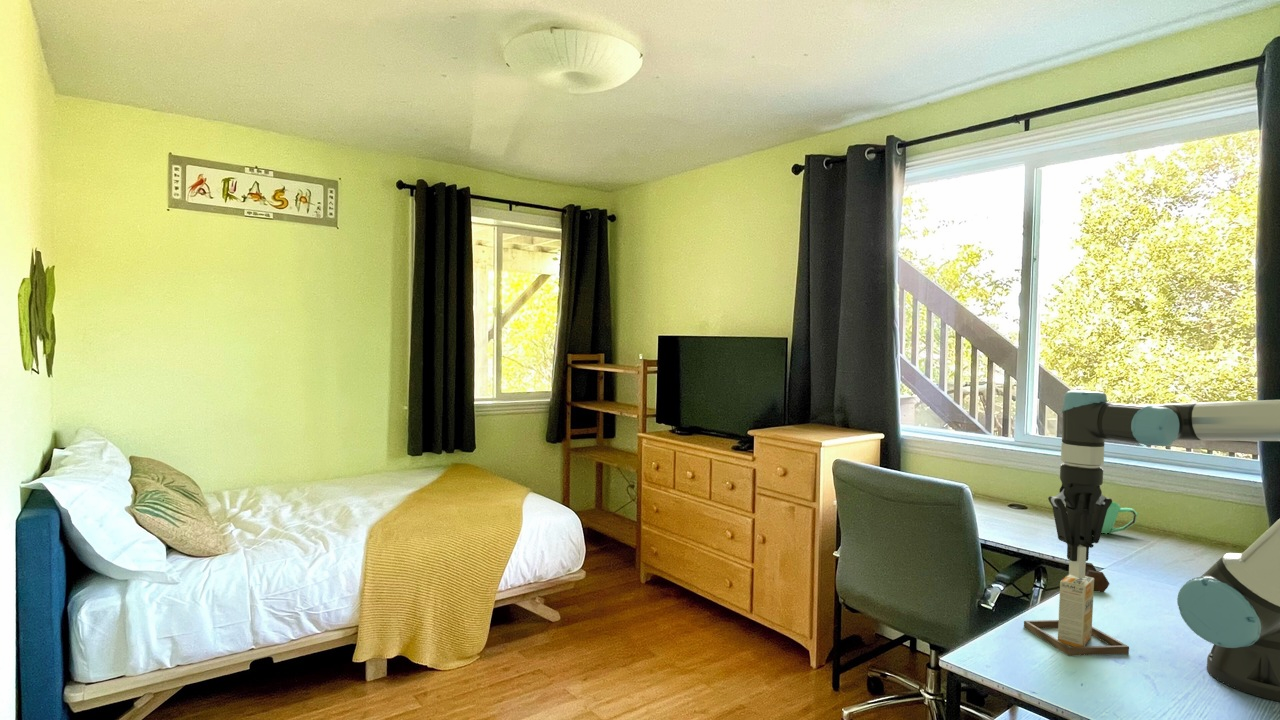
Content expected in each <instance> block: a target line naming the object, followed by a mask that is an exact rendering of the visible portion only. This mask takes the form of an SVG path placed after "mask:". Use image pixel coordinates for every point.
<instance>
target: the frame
mask: <svg viewBox="0 0 1280 720" xmlns="http://www.w3.org/2000/svg"><path fill="white" fill-rule="evenodd" d="M1058 623H1059V619H1049V620H1047V619H1043V620H1023V628H1024V629H1025V630H1027V631H1028V632H1030V633H1032V634H1034V635H1035V636H1037V637H1038V638H1040V639H1041V640H1043V641H1045V642H1046V643H1047V644H1049V645H1051V646H1053V647H1054V648H1055V649H1057V650H1059V651H1060V652H1062V653H1063V654H1065V655H1067V656H1068V657H1069V656H1074V657H1077V656H1078V657H1079V656H1102V655H1103V656H1106V655H1107V656H1108V655H1129V654H1130V646H1129V645H1127V644H1125V643H1124V642H1121V641H1119V640H1118V639H1116V638H1114V637H1113V636H1110V635H1109V634H1107V633H1105V632H1103V631H1102V630H1099V629H1097V628H1096V627H1094V626H1092V634H1091V636H1093V637H1095V638H1097V639H1098V640H1100V639H1101V640H1100V641H1103V642H1104V643H1106V644H1107V643H1108V644H1107V645H1093V646H1092V645H1090V646H1086V645H1085V646H1084V647H1073V646H1070V645H1066V644H1064V643H1062V642H1061V641H1059V640H1058V638H1056V637H1054V636H1052V635H1051V634H1049V633H1047V632H1046V631H1044V630H1043V629H1058Z"/></svg>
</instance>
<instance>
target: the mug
mask: <svg viewBox="0 0 1280 720" xmlns="http://www.w3.org/2000/svg"><path fill="white" fill-rule="evenodd" d="M1125 512H1126V513H1132V520H1130V521H1129V522H1128V523H1126V524H1125V525H1124V526H1121V527H1120V526H1119V527H1115V528H1114V525H1115V524H1116V521H1117V519H1118V515H1119V514H1118V513H1125ZM1138 514H1139V513H1138V512H1137V511H1136V510H1135V509H1134V508H1131V507H1121V506H1120V503H1117V502H1114V501H1112V503H1111V505H1110V506H1109V508H1108V509H1107V513H1106V517H1105V520H1104V524H1103V528H1102V532H1101V533H1109V534H1110V533H1116V532H1121V531H1125V530H1127V529H1128V528H1130V527H1132V526H1133V525H1135V524H1136V522H1137V518H1138Z"/></svg>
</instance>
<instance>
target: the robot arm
mask: <svg viewBox="0 0 1280 720" xmlns="http://www.w3.org/2000/svg"><path fill="white" fill-rule="evenodd" d="M1061 413H1062V426H1061V427H1062V429H1061V430H1062V431H1061V433H1062V434H1061V443H1060V444H1061V448H1060V449H1061V450H1060V451H1061V452H1060V460H1061V462H1063V463H1061V464H1060V466H1059V467H1060V468H1059V469H1060V470H1059V479H1060V481H1061V486H1060V488H1059V493H1058V494H1056V495H1054V496H1053V495H1050V496H1048V502H1049V504H1050V505H1051V508H1052V512H1053V518H1054V522H1055V529H1056V533H1057V538H1058V539H1057V540H1059V541H1061V542H1064V543H1065V544H1066V545H1067V546H1066V547H1067V548H1066V550H1067V551H1066V558H1067V560H1068V565H1069V566H1068V574H1070V575H1073V576H1075V577H1077V578H1085V568H1086V562H1088V560H1089V555H1090V554H1089V553H1090V551H1089V550H1090V548H1091V549H1092V548H1094V546H1095V545H1094V544H1098V543H1099V542H1100V538H1101V535H1102V534H1101V532H1102V528H1103V524H1104V520H1105V517H1106V513H1107V509H1108V508H1109V506H1110V505H1111V503H1112V502H1113V500H1112V498H1109V497H1106V496H1105V495H1104V494H1102V489H1101V486H1102V485H1103V483H1104V482H1103V480H1104V468H1103V467H1102V466H1103V465H1104V463H1105V441H1106V440H1110V441H1111V440H1112V441H1117V442H1118V441H1119V442H1126V443H1132V444H1139V445H1144V446H1147V447H1151V446H1153V447H1154V446H1155V447H1157V446H1158V447H1169V446H1170V445H1172V444H1173V443H1174V442H1175V441H1229V442H1230V441H1233V442H1234V441H1236V442H1237V441H1241V442H1242V441H1246V442H1247V441H1248V442H1249V441H1250V442H1252V441H1253V442H1254V441H1255V442H1263V441H1264V442H1280V399H1265V400H1264V399H1262V400H1237V401H1236V400H1234V401H1233V400H1231V401H1230V400H1229V401H1207V402H1205V401H1204V402H1168V403H1159V404H1158V403H1153V404H1152V403H1151V404H1130V403H1129V404H1128V403H1115V402H1110V401H1108V399H1107V394H1106V393H1105V392H1103V391H1093V390H1068V391H1067V392H1065V393H1064V395H1063V405H1062V410H1061ZM1176 600H1177V607H1178V610H1179V615H1180V617H1182V620H1183V621H1184V623H1185V624H1186V625H1187V627H1189V629H1190V630H1191V631H1192V632H1193V633H1194V634H1196V636H1198V637H1200V638H1201V639H1203V640H1204V641H1206V642H1208V643H1210V644H1212V648H1211V651H1210V652H1209V653H1208V655H1207V659H1206V670H1207V672H1208V673H1209V674H1210V675H1211V676H1212V677H1213V678H1214V679H1216V680H1217V681H1219V682H1220V683H1222V684H1225V685H1227V686H1229V687H1231V688H1234V689H1235V690H1237V691H1241V692H1243V693H1247V694H1250V695H1252V696H1256V697H1259V698H1263V699H1268V700H1271V701H1276V702H1280V518H1279V519H1277V520H1276V521H1274V523H1273V524H1272V525H1271V526H1270V527H1269V528H1268V529H1266V531H1265V532H1264V533H1262V534H1261V535H1260V536H1259V537H1258V538H1257V539H1256V540H1255V541H1254V542H1253V543H1251V544H1250V546H1248V547H1247V548H1246V549H1245V550H1244V551H1243V552H1241V553H1240V552H1239V553H1238V552H1227V553H1225V554H1224V555H1223V556H1221V557H1220V558H1219V559H1218V560H1217V561H1216V562H1215V563H1214V564H1213V565H1211V567H1209V569H1207V570H1206V571H1205V572H1204V573H1202V575H1201V576H1198V577H1194V578H1192V579H1189V580H1188V581H1186V582H1185V583H1184V584H1183V585H1182V586H1181V587H1180V589H1179V591H1178V594H1177V599H1176Z"/></svg>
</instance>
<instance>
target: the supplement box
mask: <svg viewBox="0 0 1280 720" xmlns="http://www.w3.org/2000/svg"><path fill="white" fill-rule="evenodd" d="M1094 594H1095V592H1094V578H1092V577H1087V576H1085V578H1077V577H1075V576H1073V575H1070V574H1069V573H1068V574H1067V575H1065V577H1063V578H1062V579H1061V580H1060V581H1059V603H1058V605H1059V606H1058V620H1059V623H1058V628H1057V640H1059V641H1061V642H1062V643H1064V644H1065V645H1067V646H1069V647H1085V646H1086V644H1087V643H1088V642H1089V640H1090V639H1092V635H1091V634H1092V627H1093V613H1094V612H1093V611H1094Z"/></svg>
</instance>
